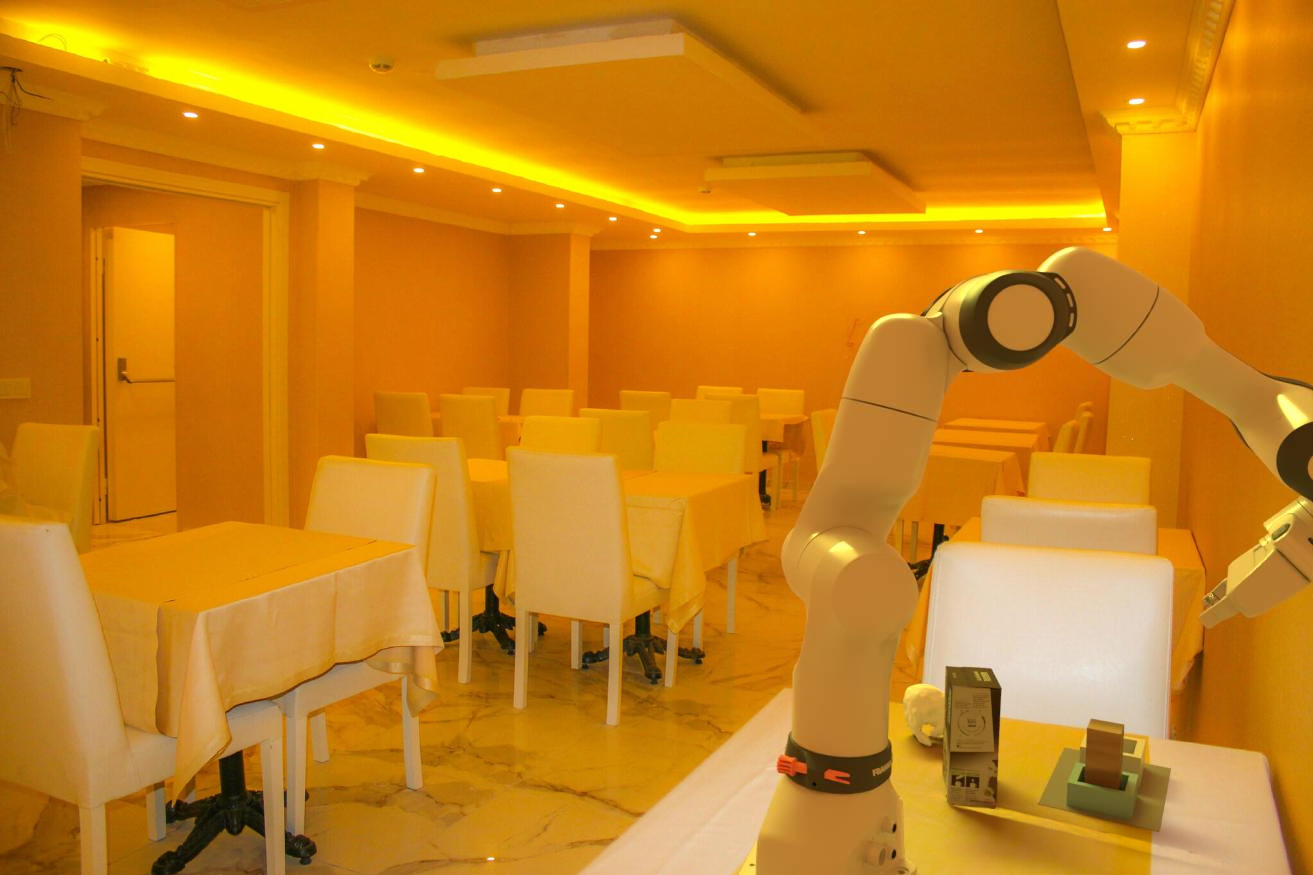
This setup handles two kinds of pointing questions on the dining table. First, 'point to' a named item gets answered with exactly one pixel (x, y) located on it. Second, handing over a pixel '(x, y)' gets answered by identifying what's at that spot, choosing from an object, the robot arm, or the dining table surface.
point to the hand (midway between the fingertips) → (1204, 614)
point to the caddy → (1128, 806)
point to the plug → (1104, 754)
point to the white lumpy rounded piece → (924, 711)
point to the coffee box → (971, 735)
